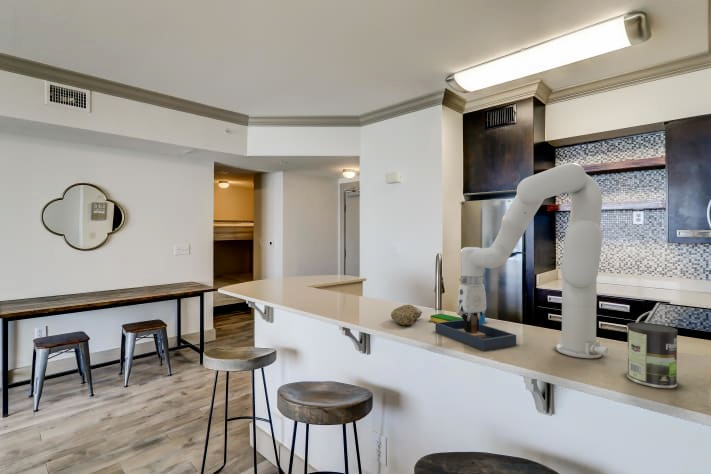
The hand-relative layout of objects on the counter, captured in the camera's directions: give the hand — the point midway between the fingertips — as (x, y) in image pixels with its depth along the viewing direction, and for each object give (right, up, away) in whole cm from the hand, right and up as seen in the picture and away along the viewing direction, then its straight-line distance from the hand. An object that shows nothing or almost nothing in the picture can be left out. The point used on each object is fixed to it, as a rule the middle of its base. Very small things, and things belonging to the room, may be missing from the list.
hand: (471, 330), depth 138 cm
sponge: (-21, -3, +23) cm, 31 cm away
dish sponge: (-3, -3, +23) cm, 23 cm away
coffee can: (+35, -3, -40) cm, 53 cm away
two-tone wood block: (0, -2, 0) cm, 2 cm away
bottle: (+10, -3, +24) cm, 26 cm away
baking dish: (+1, -3, -1) cm, 3 cm away
